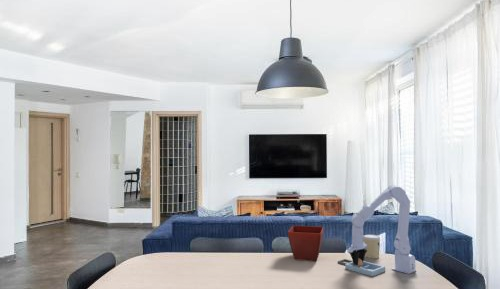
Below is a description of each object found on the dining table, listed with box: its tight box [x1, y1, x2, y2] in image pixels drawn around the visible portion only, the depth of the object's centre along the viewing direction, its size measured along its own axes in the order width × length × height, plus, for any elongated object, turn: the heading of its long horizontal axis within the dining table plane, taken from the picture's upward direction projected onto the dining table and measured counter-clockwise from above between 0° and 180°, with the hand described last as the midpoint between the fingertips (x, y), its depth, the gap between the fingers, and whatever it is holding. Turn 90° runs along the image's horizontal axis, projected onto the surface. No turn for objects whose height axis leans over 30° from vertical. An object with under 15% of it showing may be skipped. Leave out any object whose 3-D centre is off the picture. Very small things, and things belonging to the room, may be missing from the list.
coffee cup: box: [363, 234, 381, 259], centre depth 208 cm, size 9×9×12 cm
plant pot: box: [287, 225, 324, 262], centre depth 207 cm, size 19×19×17 cm
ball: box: [355, 258, 363, 267], centre depth 186 cm, size 4×4×4 cm
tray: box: [344, 261, 386, 277], centre depth 183 cm, size 16×12×2 cm
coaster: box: [337, 258, 353, 266], centre depth 195 cm, size 7×7×1 cm
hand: (358, 263), depth 186 cm, fingers closed on ball, 4 cm apart
